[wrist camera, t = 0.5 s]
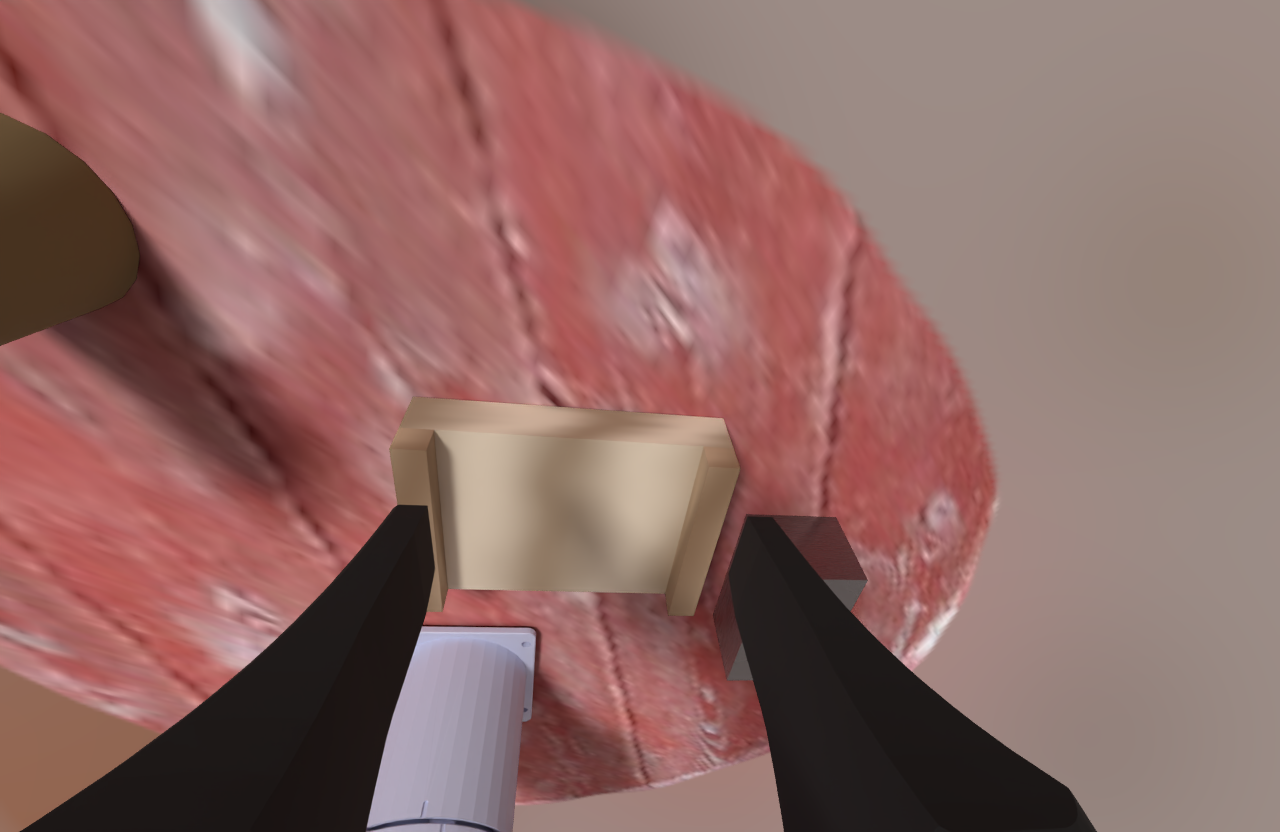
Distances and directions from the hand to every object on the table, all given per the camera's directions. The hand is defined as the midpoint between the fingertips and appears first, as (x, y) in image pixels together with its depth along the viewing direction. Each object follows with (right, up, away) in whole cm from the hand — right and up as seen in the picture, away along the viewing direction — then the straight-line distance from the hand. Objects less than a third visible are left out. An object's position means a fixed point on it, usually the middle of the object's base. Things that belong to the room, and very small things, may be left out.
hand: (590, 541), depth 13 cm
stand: (-2, 0, +12) cm, 12 cm away
